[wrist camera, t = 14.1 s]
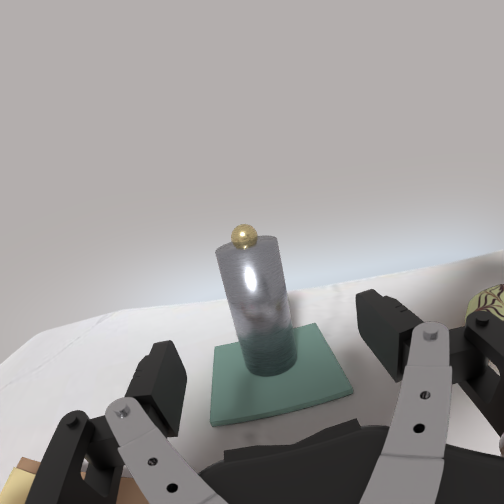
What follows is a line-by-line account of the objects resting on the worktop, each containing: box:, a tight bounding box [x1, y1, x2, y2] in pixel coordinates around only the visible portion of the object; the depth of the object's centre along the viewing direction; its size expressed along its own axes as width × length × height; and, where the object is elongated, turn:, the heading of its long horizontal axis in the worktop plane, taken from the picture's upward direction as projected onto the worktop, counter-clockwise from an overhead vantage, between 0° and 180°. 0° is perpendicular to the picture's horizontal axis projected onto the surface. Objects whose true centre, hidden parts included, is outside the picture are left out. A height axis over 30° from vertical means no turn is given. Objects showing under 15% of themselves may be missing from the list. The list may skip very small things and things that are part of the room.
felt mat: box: [210, 323, 353, 427], centre depth 24 cm, size 11×11×1 cm
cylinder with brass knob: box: [215, 224, 297, 377], centre depth 23 cm, size 5×5×13 cm
